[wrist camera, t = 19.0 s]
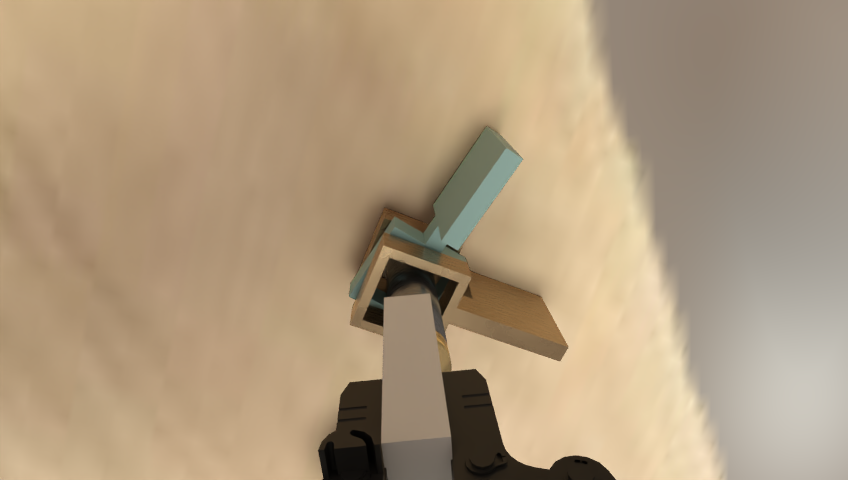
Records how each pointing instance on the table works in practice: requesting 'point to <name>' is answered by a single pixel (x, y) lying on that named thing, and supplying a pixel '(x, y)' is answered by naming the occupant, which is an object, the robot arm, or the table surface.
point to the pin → (414, 282)
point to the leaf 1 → (455, 206)
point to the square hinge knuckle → (459, 295)
